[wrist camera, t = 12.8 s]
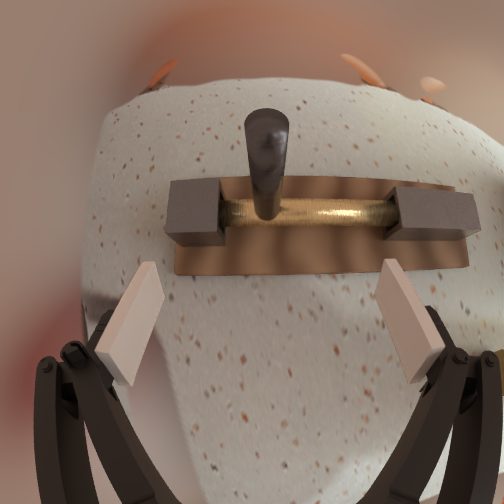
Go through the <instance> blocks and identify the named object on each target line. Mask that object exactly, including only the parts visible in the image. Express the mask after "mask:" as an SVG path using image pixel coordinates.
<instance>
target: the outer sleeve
mask: <svg viewBox="0 0 504 504" xmlns="http://www.w3.org/2000/svg"><path fill="white" fill-rule="evenodd" d="M382 200H384V201H395V202H396V208H397V214H398V220H399V224H397V225H396V226H381V227H382V235H383V241H459V240H461V239H463V238H465V237H468V236H470V235H472V234H474V233H476V232H478V231H480V230H481V226H480V222H479V217H478V212H477V208H476V204H475V200H474V196H473V194H467V193H460V192H453V191H445V190H436V189H427V188H417V187H406V186H394V187H393V188H392V190H391V191H390V192H389V193H388V194H387V195H386V196H385V197H384V198H383V199H382Z"/></svg>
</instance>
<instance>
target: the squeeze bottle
mask: <svg viewBox="0 0 504 504" xmlns="http://www.w3.org/2000/svg"><path fill="white" fill-rule="evenodd" d="M494 353H495V354H496V355H497V357H498V359H499V362H500V371H501V383H502V396H504V350H503V349H501V350H499V351H496V352H494Z"/></svg>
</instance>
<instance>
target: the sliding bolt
mask: <svg viewBox="0 0 504 504" xmlns="http://www.w3.org/2000/svg"><path fill="white" fill-rule="evenodd" d="M244 126H245V135H246V143H247V152H248V160H249V168H250V177H251V185H252V194H253V199H233V200H220V203H219V227H256V226H396V225H397V224H399V220H398V214H397V208H396V202H395V201H384V200H360V199H314V198H281V195H282V186H283V178H284V169H285V160H286V151H287V142H288V133H289V121H288V119H287V117H286V116H285V115H284V114H283V113H281V112H280V111H278V110H275V109H270V108H263V109H258V110H255V111H253V112H252V113H250V114H249V115H248V116H247V118H246V120H245V123H244Z"/></svg>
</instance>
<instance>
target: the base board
mask: <svg viewBox="0 0 504 504" xmlns="http://www.w3.org/2000/svg"><path fill="white" fill-rule="evenodd" d="M203 179H205V178H203ZM219 179H220V182H221V185H222V188H223V191H224V193H225V196H226V199H227V200H233V199H253V194H252V185H251V177H250V176H245V177H221V178H219ZM188 180H190V179H188ZM394 186H406V187H417V188H427V189H436V190H445V191H453V192H455V188H454V187H451V186H444V185H436V184H428V183H419V182H409V181H398V180H386V179H372V178H355V177H331V176H284V178H283V186H282V195H281V198H314V199H360V200H382V199H383V198H384V197H385V196H386V195H387V194H388V193H389V192H390V191H391V190H392V188H393V187H394ZM384 259H396V260H397V262H398V263H399V265H400V266H401V268H402V269H403V271H412V270H430V269H447V268H463V267H467V266H469V259H468V252H467V245H466V239H465V238H463V239H461V240H459V241H383V235H382V227H381V226H256V227H226V246H210V247H182V246H181V245H179V244H178V243H177V242H176V249H175V269H174V274H176V275H185V276H225V275H300V274H338V273H366V272H381V270H382V266H383V262H384Z"/></svg>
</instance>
